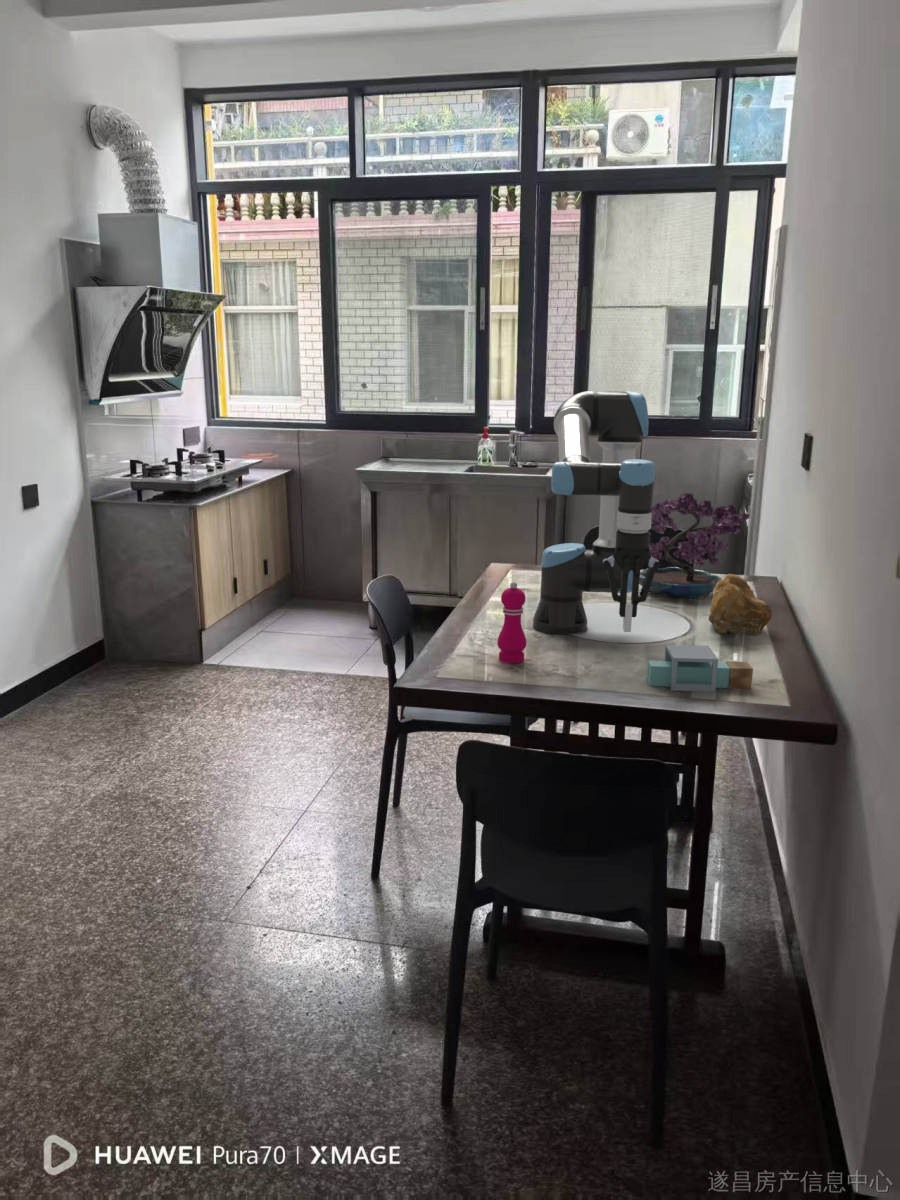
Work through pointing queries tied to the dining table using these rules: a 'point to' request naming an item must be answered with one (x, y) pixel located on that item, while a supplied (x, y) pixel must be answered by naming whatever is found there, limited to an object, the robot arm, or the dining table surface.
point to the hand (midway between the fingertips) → (626, 630)
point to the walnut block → (740, 675)
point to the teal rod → (687, 673)
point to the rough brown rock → (738, 607)
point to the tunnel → (691, 655)
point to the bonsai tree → (689, 547)
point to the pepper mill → (512, 626)
